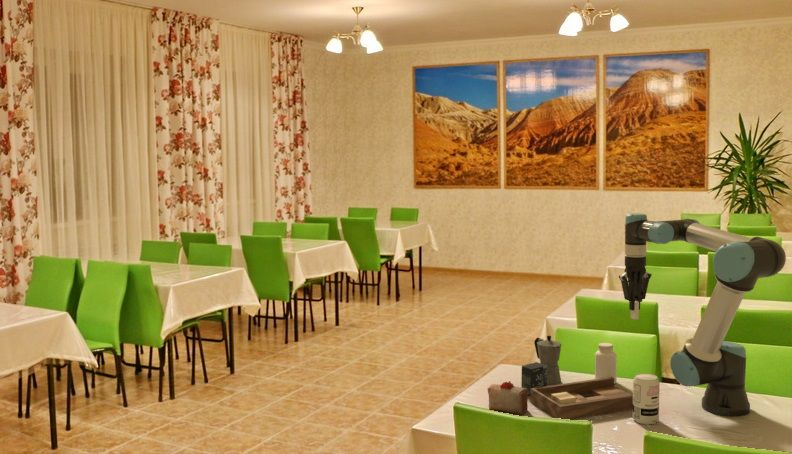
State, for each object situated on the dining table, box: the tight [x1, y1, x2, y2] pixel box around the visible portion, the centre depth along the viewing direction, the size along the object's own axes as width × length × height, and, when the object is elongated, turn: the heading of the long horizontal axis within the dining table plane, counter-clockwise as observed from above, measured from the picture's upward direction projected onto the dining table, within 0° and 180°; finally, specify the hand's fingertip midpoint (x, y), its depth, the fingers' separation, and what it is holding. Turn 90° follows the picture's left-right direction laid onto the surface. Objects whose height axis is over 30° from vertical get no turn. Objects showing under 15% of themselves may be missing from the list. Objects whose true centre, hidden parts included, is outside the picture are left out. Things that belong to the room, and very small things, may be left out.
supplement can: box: [632, 373, 661, 426], centre depth 242 cm, size 8×8×15 cm
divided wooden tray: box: [530, 377, 633, 420], centre depth 259 cm, size 20×34×5 cm, turn 109°
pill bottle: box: [594, 342, 618, 385], centre depth 281 cm, size 8×8×15 cm
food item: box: [487, 380, 528, 416], centre depth 255 cm, size 14×8×10 cm, turn 61°
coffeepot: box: [533, 335, 562, 386], centre depth 285 cm, size 15×9×18 cm, turn 26°
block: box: [551, 392, 576, 405], centre depth 251 cm, size 6×6×4 cm
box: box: [520, 361, 548, 397], centre depth 272 cm, size 8×6×11 cm
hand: (634, 318), depth 273 cm, fingers closed
